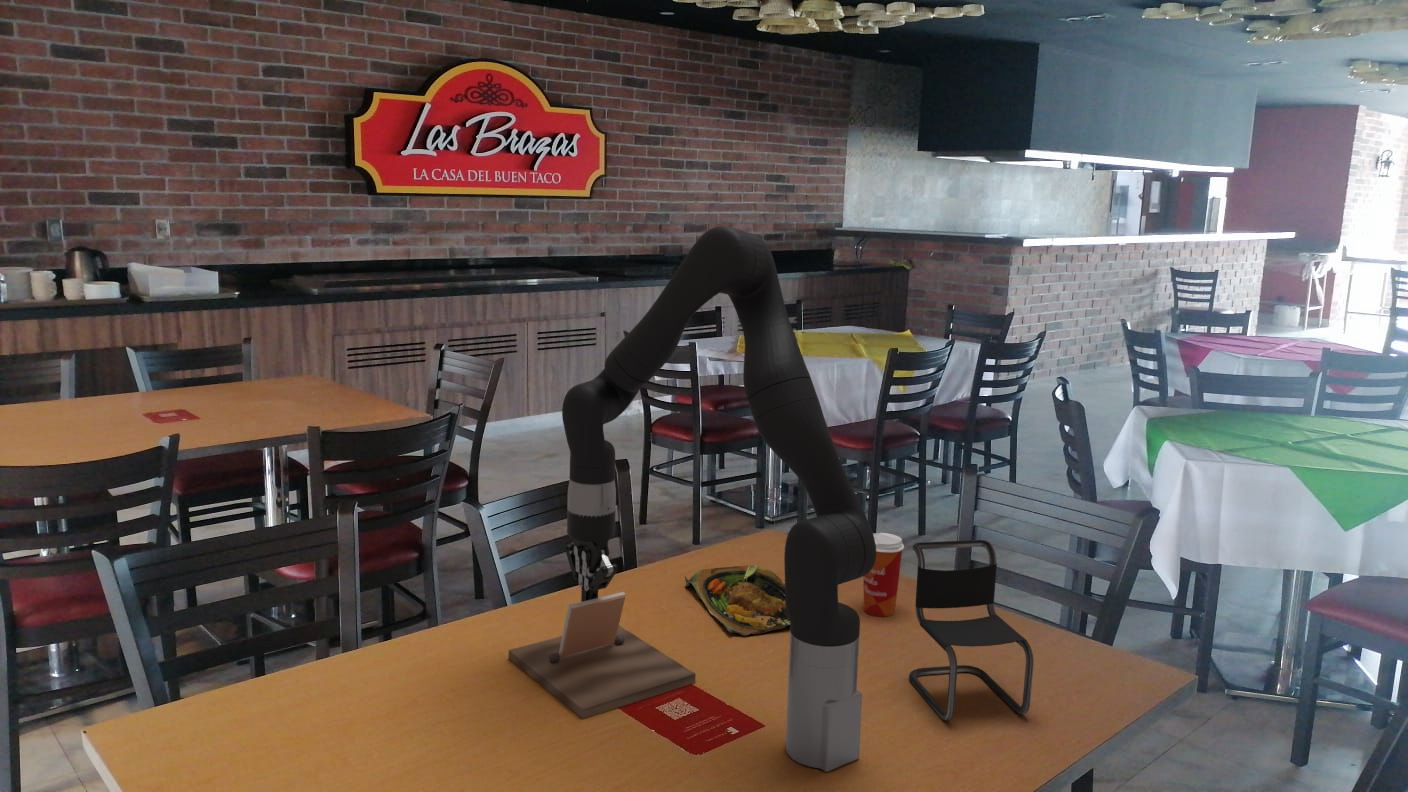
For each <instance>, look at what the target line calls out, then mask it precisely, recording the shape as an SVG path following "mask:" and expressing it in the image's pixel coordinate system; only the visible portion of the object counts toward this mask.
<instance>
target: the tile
mask: <svg viewBox="0 0 1408 792" xmlns="http://www.w3.org/2000/svg"><path fill="white" fill-rule="evenodd" d="M626 595H627V594H626V593H625V592H624V591H620V592H617V593H613V594H608V595H606V596H605V595H604V596H600V597H598V598H596V599H592V600H588V601H583V602H581V601H579V602H576V603H572V604H568V606H567V611H566V616H565V622H564V626H563V631H562V635H561V636H562V639H561V644H560V649H559V656H560V657H564V656H568V655H572V654H575V653H579V652H582V651H586V650H590V649H593V648H597V647H600V646H604V645H608V644H611V643H615V638H616V634H617V630H618V626H620V621H621V617H622V612H623V608H624V605H625V599H626Z"/></svg>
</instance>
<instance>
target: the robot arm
mask: <svg viewBox="0 0 1408 792" xmlns="http://www.w3.org/2000/svg"><path fill="white" fill-rule="evenodd" d="M718 294H724V295H728V297H729V300H731V303H732V305H733V308H734V309H735V312H736V315H737V317H738V320H739V323H740V326H741V329H742V333H743V339H744V357H743V373H742V377H743V388H744V392H745V393H744V394H745V397H746V400H747V403H748V406H749V409H750V412H751V415H752V419H753V420H754V421H753V422H754V424H755V426H756V430H757V432H758V433H759V435H760V438H761V439H762V440H763V441H764V442H765V444H766V445H767V446H768V447H769V449H770V450H771V451H773V453H774V454H775V455H776V456H777V457H778V458H779V459H780V460H781V461H782V462H783V463H784V464H785V465H786V466H787V468H789V469H790V470H791V471H792V472H793V473H794V474H795V476H796V477H797V478H798V479H799V480H800V482H801V484H802V485H803V487H804V489H805V491H806V493H807V495H808V496H809V499H810V501H811V504H812V507H813V508H814V512H815V515H816V516H814V517H809V518H805V519H802V520H800V521H798V522H795V524H794V525H792V526H791V528H790V530H789V531H788V533H787V536H786V539H785V545H784V584H785V603H786V608H787V612H788V615H789V619H790V625H789V650H788V676H787V700H786V701H787V702H786V703H787V706H786V728H785V729H786V733H785V734H786V735H785V750H786V753H787V755H788V756H789V757H790V758H791V759H792V760H793V761H794V762H797V763H798V764H800V765H803V766H807V767H810V768H816V769H821V770H822V771H824V772H826V773H827V772H831V771H833V770H835V769H837V768H840V767H842V766H844V765H847V764H849V763H852V762H854V761H856V760H858V759H859V758H860V748H861V746H860V745H861V743H860V742H861V727H862V726H861V725H862V706H863V693H862V692H861V691H859V690H858V671H859V653H860V652H859V651H860V631H861V630H860V629H861V620H860V616H859V613H858V611H856V610H855V609H854V608H853V607H851V606H850V605H847V604H845V603H842V602H839V594H838V593H839V590H838V589H839V588H838V587H839V585H841V584H845V583H847V582H848V583H849V582H850V581H855V580H857V579H861V578H863V576H865V575H867V574H868V573H869V572H870V571H871V570H872V568H873V566H874V564H875V560H876V544H875V539H874V535H873V534H874V533H873V529H872V527H871V525H870V522H869V520H868V517H867V515H866V513H865V510H864V508H863V507H862V504H861V503H860V500H859V498H858V496H857V494H856V491H855V490H854V488H853V486H852V484H851V483H852V482H851V481H850V480H849V477H848V475H847V473H846V471H845V469H844V466H843V464H842V461H841V458H840V456H839V453H838V451H837V448H836V446H835V443H834V440H833V437H832V435H831V433H830V430H829V427H828V424H827V421H826V419H825V415H824V413H823V410H822V407H821V403H820V400H819V397H818V394H817V391H816V389H815V386H814V383H813V381H812V377H811V374H810V373H809V370H808V368H807V367H808V366H807V365H806V362H805V360H804V357H803V354H802V350H801V349H800V345H799V344H798V343H799V342H798V340H797V337H796V334H795V331H794V329H793V327H792V324H791V321H790V318H789V315H788V312H787V308H786V304H785V302H784V297H783V293H782V288H781V283H780V279H779V276H778V269H777V267H776V263H775V260H774V256H773V254H772V250H771V249H770V247H769V246H768V244H767V243H766V242H765V241H764V240H763V239H762V238H761V237H760V236H758V235H757V234H754V233H752V232H749V231H745V230H742V229H739V228H735V227H732V226H726V225H719V226H714V227H712V228H710V229H708V230H707V231H705V232H704V233H702V234H701V236H700V237H698V239H697V240H696V241H695V243H694V244H693V245H692V247H691V248H690V250H689V251H688V252H687V254H686V256H685V257H684V259H683V261H682V262H681V263H680V265H679V266H678V268H677V269H676V271H675V272H674V274H673V275H672V277H671V278H670V280H669V281H668V283H667V284H666V286H665V287H664V288H663V290H662V291H661V292H660V294H659V296H658V297H657V299H656V300H655V301H654V302H653V304H652V305H651V307H650V308H649V309H648V311H647V312H646V313H645V315H643V317H642V318H641V319H640V320H639V322H638V323H636V325H635V326H634V327H633V328H632V329H631V330H630V331H629V332H628V334H626V335H625V336H624V338H622V340H621V341H620V342H619V343H618V344H617V345H616V346H615V347H614V348H613V349H612V350H611V352H610V353H609V354H608V355H607V357H606V359H605V362H604V368H603V369H602V371H601V372H600V373H599V374H598V375H596V377H594V378H593V379H591V380H589V381H585V382H582V383H578V384H576V385H574V386H572V387H571V388H570V389H569V390H568V391H567V392H566V394H565V396H564V399H563V402H562V409H561V417H562V424H563V428H564V433H565V437H566V441H567V447H568V449H569V455H570V457H569V482H568V488H567V506H566V507H567V509H566V512H567V513H566V515H567V516H566V524H567V525H566V534H567V536H568V537H570V538H571V539H572V542H571V543H568V544H565V545H564V550H565V554H566V558H567V560H568V564H569V567H570V570H571V573H572V577H573V580H575V581H578V586H579V588H581V590H580V591H581V593H580V595H581V596H580V599H581V600H580V602H583V601H588V600H592V599H596V598H599V590H602V589H607V587H608V586H609V585H610V582H611V581H612V580H613V578H614V577H615V576H616V573H617V572H618V565H617V564H616V563H614V564H613V563H612V564H611V561H610V559H609V555H610V549H609V541H610V540H611V538H613V537H614V536H615V533H616V514H617V513H616V506H617V501H616V500H617V488H616V449H615V447H614V445H613V444H612V442H610V441H608V440H606V438H605V434H604V425H606V424H608V423H610V422H613V421H614V420H616V419H617V418H618V417H620V415H622V414H623V413H624V412H625V411H626V409H628V407H629V406H630V405H631V403H632V402H633V400H634V399H635V397H636V396H637V395H638V393H639V391H640V390H641V388H643V386H645V385H646V384H647V383H648V382H649V381H650V380H651V379H652V378H653V377H654V376H655V375H656V374H657V373H658V372H659V371H660V370H661V369H662V368H663V366H664V365H666V364H667V362H668V361H669V359H671V357H672V356H673V354H674V353H675V351H676V350H677V347H678V345H679V343H680V341H681V338H682V335H683V333H684V331H685V330H686V329H685V328H686V326H687V325H688V323H689V322H690V320H691V319H692V317H693V316H694V315H695V314H696V313H697V311H698V310H700V308H702V306H704V305H705V304H706V303H707V302H708V301H710V300H711V299H712V298H714V297H715V296H717V295H718Z"/></svg>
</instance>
